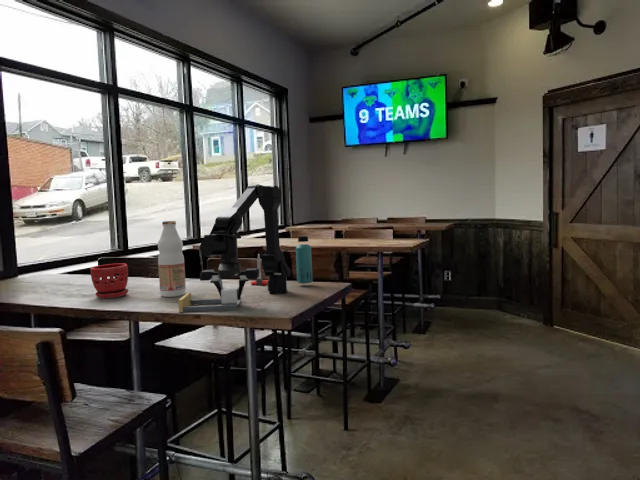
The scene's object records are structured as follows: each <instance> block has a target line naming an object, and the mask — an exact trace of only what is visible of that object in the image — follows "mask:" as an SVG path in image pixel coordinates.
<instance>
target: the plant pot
mask: <svg viewBox="0 0 640 480" xmlns="http://www.w3.org/2000/svg"><path fill="white" fill-rule="evenodd" d="M89 272H90V276H91V282H92V284H93V287H94V289H95V290H96V292H95V296H96V297H97V298H99V299H115V298H120V297H123V296H125V295H127V294H128V292H129V289H128V288H126V287H127V285H128V281H129V279H128V278H129V268H128V264H127V263H123V262H122V263H121V262H120V263H108V264H101V265H96V266H92V267H90V270H89ZM117 274H118V275H117Z"/></svg>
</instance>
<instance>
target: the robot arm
mask: <svg viewBox="0 0 640 480" xmlns="http://www.w3.org/2000/svg"><path fill="white" fill-rule="evenodd" d="M257 200H258V204H259V206H260V207H261V209H262V210H263V218H264V221H263V222H264V231H265V235H264V236H265V247H266V248H265V251H264V253H263V254H261V255H260V256H261V257H260V260H261V263H260V267H262V270H263V273H264V276H265V277H269V279H267V280H268V284H267V291H268V292H269V294H270V295H273V294H287V293H288V282H287V277H290V276H291V273H292V269H291V268H290V266H289V265H288V264H287V262H286V257H285V255H284V253H283V251H282V249H281V246H280V232H279V231H280V230H279V216H278V215H279V214H278V213H279V212H278V211H279V210H278V209H279V208H280V205H281V204H282V189H281V188H280V187H279V186H278V185H262V184H248V186H247V187H246V189H245V190H244V192H243V193H242V194H241V195H240V196H239V198H238V199H237V200H236V201H235V202H234V204H233V205H232V206H231V207H230V208H229V209H227V210H225V211H223V212H222V213H220V214H219V215H218V216H217V217H216V218H215V220H214V223H213V226H212V228H211V230H210V233H209V234H204V236H203V239H201V241H200V245H199V251H200V253H201V255H203V257H206V258H208V257H209V258H210V257H215V256H219V257H220V258H219V261H220V262H219V266H218V271H215V269H204V270H202V271H200V273H199V281H201V282H204V281H209V282H210V284H213V285H214V286H215V288H216V289H217V292H218V294H219V296H220V298H221V290H222V289H223V288H224V286H223V280H225V279H229V280H231V279H234V278H237V277H238V278H240V279H239V280H238V286H239V292H238V299H239V300H240V298H241V299H242V294H243V289H244V286H245V284H246V282H249V280H253V279H254V280H256V279H257V278H258V277H259V270H258V267H254V268H253V267H252V268H246V269H245V270H242V269H241V268H242V266H241V263H240V262H239V256H238V255H239V254H238V252H239V251H238V239H242V235H240V234H239V233H238V231H239V230H240V228H241V226H242V225H243V222H244V221H243V219H244V218H243V217H244V216H245V214H246V213H247V212H248V211H249V209H251V207H252V206H253V204H254V203H255V202H256V201H257Z"/></svg>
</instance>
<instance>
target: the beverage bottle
mask: <svg viewBox="0 0 640 480" xmlns="http://www.w3.org/2000/svg"><path fill="white" fill-rule="evenodd" d="M297 242H299V243H302V244H297V245H296V247H295V257H296V264H295V265H296V267H295V271H296V282H297V284H303V285H304V284H311V283H313V281H314V279H313V278H314V277H313V258H312V257H313V256H312V246H311V245H310V244H307V242H309V236H307V235H300V236H298V237H297ZM305 242H306V244H303V243H305Z"/></svg>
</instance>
